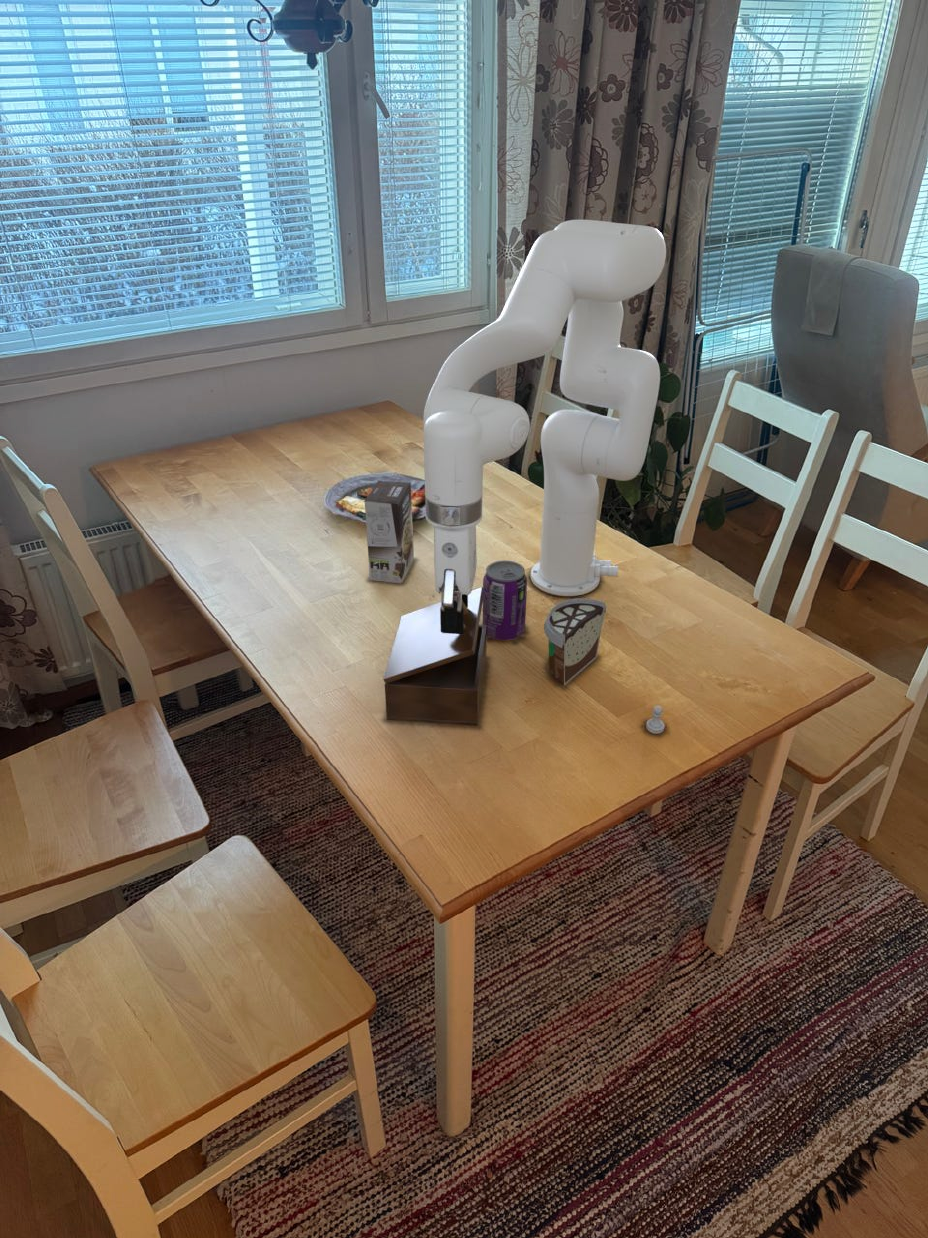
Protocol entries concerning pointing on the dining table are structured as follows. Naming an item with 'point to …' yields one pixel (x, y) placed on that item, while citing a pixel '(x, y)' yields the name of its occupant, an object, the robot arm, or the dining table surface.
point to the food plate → (355, 490)
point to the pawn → (655, 721)
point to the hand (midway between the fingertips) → (454, 619)
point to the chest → (441, 691)
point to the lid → (432, 639)
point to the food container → (573, 636)
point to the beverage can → (504, 600)
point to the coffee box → (389, 531)
